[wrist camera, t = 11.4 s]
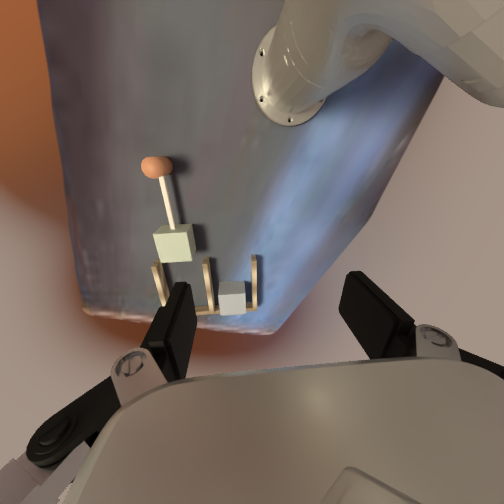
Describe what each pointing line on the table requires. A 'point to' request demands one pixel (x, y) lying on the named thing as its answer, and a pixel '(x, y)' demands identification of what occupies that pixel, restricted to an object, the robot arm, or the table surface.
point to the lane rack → (212, 308)
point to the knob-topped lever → (174, 235)
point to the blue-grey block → (232, 298)
